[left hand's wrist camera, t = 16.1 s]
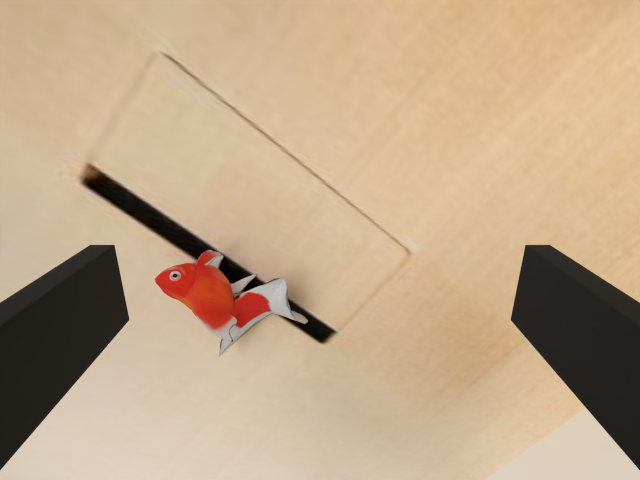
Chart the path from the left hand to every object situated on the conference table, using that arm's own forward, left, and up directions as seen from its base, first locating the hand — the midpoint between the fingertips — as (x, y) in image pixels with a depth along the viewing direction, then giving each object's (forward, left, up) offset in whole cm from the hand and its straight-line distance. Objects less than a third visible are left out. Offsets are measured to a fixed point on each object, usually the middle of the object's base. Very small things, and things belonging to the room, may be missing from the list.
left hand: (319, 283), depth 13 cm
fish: (-12, -11, -28) cm, 32 cm away
